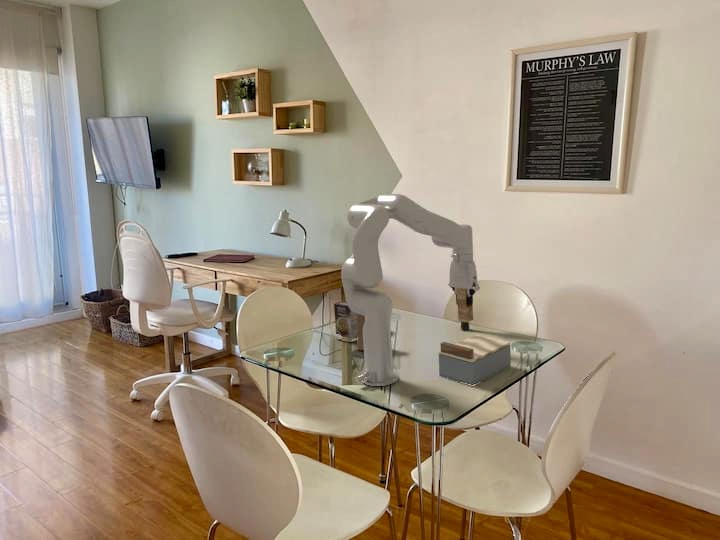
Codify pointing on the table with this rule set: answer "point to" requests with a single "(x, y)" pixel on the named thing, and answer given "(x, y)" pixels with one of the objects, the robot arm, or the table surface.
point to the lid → (472, 348)
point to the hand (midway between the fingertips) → (464, 304)
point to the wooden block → (360, 330)
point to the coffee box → (345, 320)
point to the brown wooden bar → (463, 306)
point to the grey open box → (474, 367)
